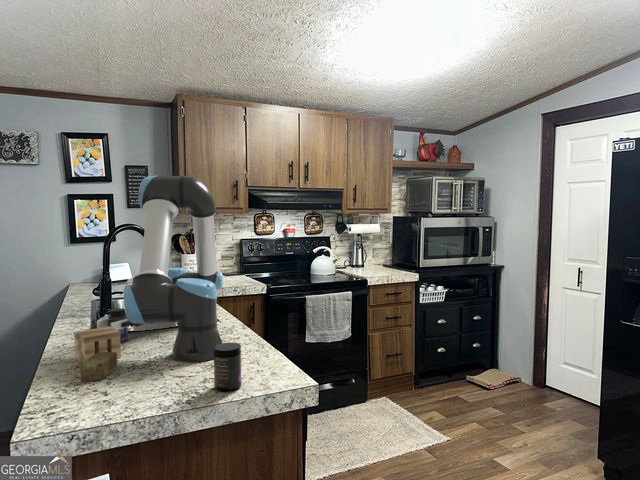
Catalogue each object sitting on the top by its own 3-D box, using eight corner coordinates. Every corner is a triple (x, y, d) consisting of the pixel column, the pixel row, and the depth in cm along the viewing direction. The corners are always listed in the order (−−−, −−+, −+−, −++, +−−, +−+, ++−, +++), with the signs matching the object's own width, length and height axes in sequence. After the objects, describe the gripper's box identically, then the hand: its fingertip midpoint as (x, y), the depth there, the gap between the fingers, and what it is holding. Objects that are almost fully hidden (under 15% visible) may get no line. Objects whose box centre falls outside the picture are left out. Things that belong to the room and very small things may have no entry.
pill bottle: (108, 344, 145) (107, 312, 145) (108, 340, 151) (107, 308, 150) (128, 342, 148) (127, 310, 147) (128, 337, 154) (126, 307, 153)
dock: (121, 357, 132) (120, 331, 131) (85, 366, 125) (84, 338, 124) (109, 350, 139) (108, 326, 138) (74, 358, 132) (73, 332, 131)
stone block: (78, 382, 113) (78, 364, 112) (98, 367, 124) (97, 350, 124) (102, 382, 113) (101, 363, 113) (119, 367, 125) (118, 349, 124)
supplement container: (240, 392, 105) (239, 350, 105) (212, 393, 105) (211, 351, 104) (242, 381, 112) (242, 342, 111) (216, 383, 111) (215, 342, 111)
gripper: (177, 324, 161) (125, 340, 141) (139, 319, 170) (85, 334, 149) (176, 304, 161) (124, 317, 140) (139, 300, 169) (85, 312, 148)
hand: (104, 326), depth 145 cm, fingers closed on pill bottle, 6 cm apart
